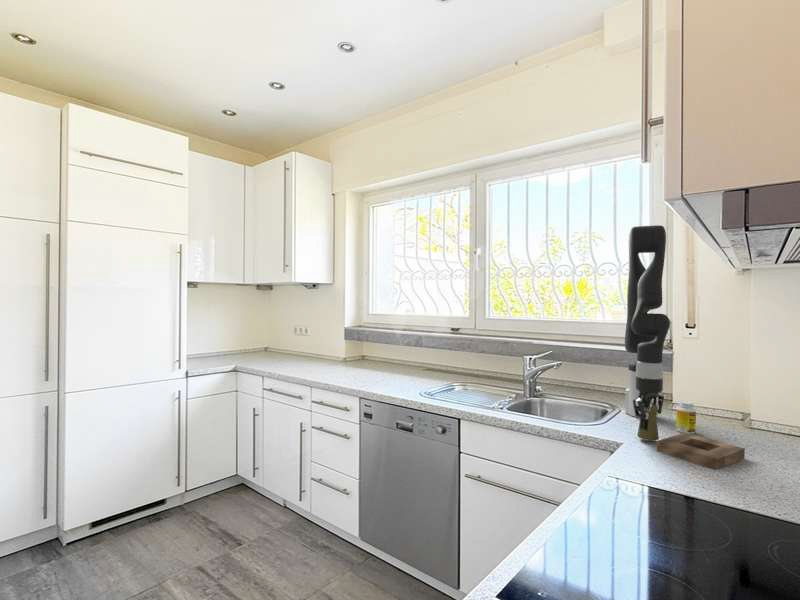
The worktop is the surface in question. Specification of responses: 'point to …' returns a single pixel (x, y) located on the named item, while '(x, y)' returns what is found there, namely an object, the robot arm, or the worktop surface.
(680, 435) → the hole plate
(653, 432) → the olive tapered peg
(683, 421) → the supplement bottle
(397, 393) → the worktop surface
